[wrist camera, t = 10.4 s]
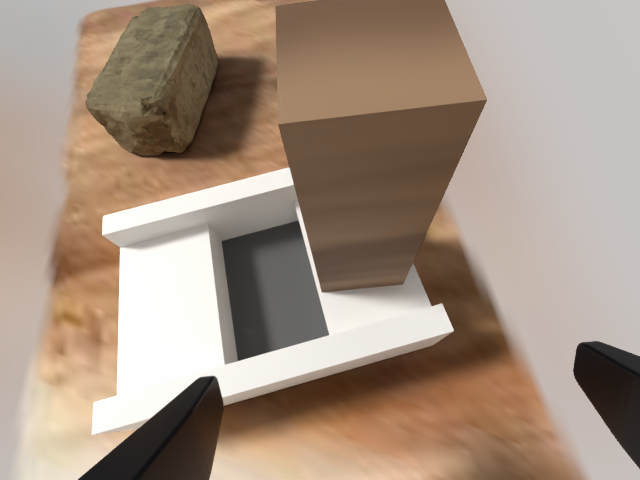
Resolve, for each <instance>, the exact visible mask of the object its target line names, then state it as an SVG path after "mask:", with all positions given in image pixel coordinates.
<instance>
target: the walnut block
mask: <svg viewBox="0 0 640 480" xmlns="http://www.w3.org/2000/svg"><path fill="white" fill-rule="evenodd" d="M276 45H277V90H278V125H279V129H280V133H281V137H282V141H283V144H284V148H285V152H286V156H287V160H288V164H289V168H290V172H291V175H292V179H293V183H294V187H295V191H296V195H297V199H298V202H299V206H300V210H301V214H302V218H303V222H304V226H305V230H306V233H307V237H308V241H309V245H310V249H311V253H312V257H313V261H314V264H315V268H316V272H317V276H318V280H319V284H320V288H321V291H322V292H331V291H342V290H352V289H363V288H373V287H384V286H394V285H403V284H404V282H405V279H406V277H407V275H408V273H409V270H410V268H411V266H412V264H413V262H414V259H415V257H416V255H417V253H418V251H419V248H420V246H421V244H422V242H423V240H424V237H425V235H426V233H427V231H428V229H429V226H430V224H431V222H432V220H433V218H434V215H435V213H436V211H437V209H438V207H439V204H440V202H441V200H442V198H443V196H444V193H445V191H446V189H447V187H448V185H449V182H450V180H451V178H452V176H453V173H454V171H455V169H456V167H457V165H458V163H459V160H460V158H461V156H462V153H463V152H464V149H465V147H466V145H467V143H468V140H469V138H470V136H471V134H472V132H473V130H474V127H475V125H476V123H477V121H478V119H479V116H480V114H481V112H482V110H483V108H484V105H485V103H486V101H487V98H486V96H485V94H484V92H483V89H482V87H481V84H480V82H479V80H478V77H477V75H476V73H475V70H474V68H473V66H472V63H471V61H470V59H469V57H468V54H467V52H466V49H465V47H464V44H463V42H462V40H461V38H460V35H459V33H458V30H457V28H456V26H455V23H454V21H453V19H452V16H451V14H450V12H449V9H448V7H447V5H446V2H445V0H317V1H309V2H302V3H294V4H287V5H279V6H276Z"/></svg>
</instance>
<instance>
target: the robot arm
mask: <svg viewBox="0 0 640 480" xmlns="http://www.w3.org/2000/svg"><path fill="white" fill-rule="evenodd" d="M573 372H574V376H575V379H576V381H577V382H578V384H579V385H580V387H581V388H582V390H583V391H584V393H585V394H586V396H587V397H588V399H589V400H590V402H591V403H592V404H593V406H594V407H595V409H596V410H597V412H598V413H599V415H600V416H601V417H602V419H603V420H604V422H605V423H606V425H607V426H608V428H609V429H610V431H611V432H612V434H613V435H614V436H615V438H616V439H617V441H618V442H619V443H620V445H621V446H622V447H623V449H624V450H625V451H626V452H627V454H628V455H629V456H630V457H631V459H632V460H633V461H634V462H635V464H636V465H637V466H638V467H639V469H640V356H637V355H634V354H632V353H629V352H626V351H624V350H621V349H618V348H615V347H613V346H610V345H607V344H605V343H602V342H598V341H593V342H583V343H580V344H579V345H578V346H577V349H576V356H575V362H574V369H573ZM223 407H224V404H223V398H222V394H221V390H220V386H219V382H218V379H217V378H216V377H215V376H203V377H199V378H198V379H196V380H195V381H194V382H193V383H192V384H190V385H189V386H188V387H187V388H186V389H185V390H183V391H182V392H181V393H180V394H179V395H177V396H176V397H175V398H174V399H173V400H171V401H170V402H169V403H168V404H167V405H166V406H164V407H163V408H162V409H161V410H160V411H158V412H157V413H156V414H155V415H154V416H153V417H151V418H150V419H149V420H148V421H147V422H145V423H144V424H143V425H142V426H141V427H140V428H138V429H137V430H136V431H135V432H134V433H132V434H131V435H130V436H129V437H128V438H127V439H125V440H124V441H123V442H122V443H121V444H119V445H118V446H117V447H116V448H115V449H113V450H112V451H111V452H110V453H109V454H108V455H106V456H105V457H104V458H103V459H102V460H100V461H99V462H98V463H97V464H96V465H95V466H93V467H92V468H91V469H90V470H89V471H87V472H86V473H85V474H84V475H83V476H81V477H80V478H79V479H78V480H209V478H210V474H211V470H212V465H213V460H214V455H215V450H216V445H217V440H218V435H219V430H220V425H221V419H222V414H223Z"/></svg>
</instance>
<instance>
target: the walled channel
mask: <svg viewBox="0 0 640 480" xmlns="http://www.w3.org/2000/svg"><path fill="white" fill-rule="evenodd" d="M102 235H103V236H104V237H106V238H107V239H109V240H110V241H111V242H113V243H114V244H116V245H117V246H119V247H120V277H119V321H118V366H117V396H113V397H110V398H106V399H103V400H99V401H96V402H93V418H92V435H97V434H104V433H112V432H120V431H128V430H135V429H138V428H140V427H141V426H142V425H143V424H144V423H145V422H147V421H148V420H149V419H150V418H151V417H153V416H154V415H155V414H156V413H157V412H158V411H160V410H161V409H162V408H163V407H164V406H166V405H167V404H168V403H169V402H170V401H171V400H173V399H174V398H175V397H176V396H177V395H179V394H180V393H181V392H182V391H183V390H185V389H186V388H187V387H188V386H189V385H190V384H192V383H193V382H194V381H195V380H196V379H198V378H199V377H203V376H215V377H216V378H217V379H218V382H219V386H220V390H221V394H222V398H223V404H224V406H225V405H229V404H232V403H236V402H239V401H243V400H246V399H250V398H253V397H256V396H260V395H263V394H267V393H270V392H274V391H277V390H281V389H284V388H288V387H291V386H295V385H298V384H301V383H305V382H308V381H312V380H315V379H319V378H322V377H326V376H329V375H333V374H336V373H340V372H343V371H347V370H350V369H353V368H357V367H360V366H364V365H367V364H371V363H374V362H378V361H381V360H385V359H388V358H392V357H395V356H398V355H402V354H405V353H409V352H412V351H416V350H419V349H423V348H426V347H430V346H433V345H434V344H436V343H437V342H439V341H440V340H442V339H443V338H444V337H446V336H447V335H449V334H450V333H452V332H453V331H454V329H453V327H452V325H451V322H450V320H449V318H448V316H447V313H446V311H445V309H444V307H443V304H442V303H441V304H438V305H434V306H431V304H430V301H429V299H428V297H427V294H426V292H425V290H424V287H423V285H422V282H421V280H420V278H419V275H418V273H417V271H416V268H415V266H414V264H412V266H411V268H410V270H409V273H408V275H407V277H406V279H405V282H404V284H403V285H394V286H384V287H373V288H363V289H352V290H342V291H331V292H322V291H321V288H320V284H319V280H318V276H317V272H316V268H315V264H314V261H313V257H312V253H311V249H310V245H309V241H308V237H307V233H306V230H305V226H304V222H303V218H302V214H301V210H300V206H299V202H298V199H297V195H296V191H295V187H294V183H293V179H292V175H291V172H290V168H285V169H281V170H277V171H274V172H270V173H266V174H262V175H258V176H254V177H251V178H247V179H243V180H239V181H235V182H231V183H228V184H224V185H220V186H216V187H212V188H208V189H204V190H201V191H197V192H193V193H189V194H185V195H181V196H178V197H174V198H170V199H166V200H162V201H158V202H155V203H151V204H147V205H143V206H139V207H135V208H132V209H128V210H124V211H120V212H116V213H112V214H109V215H105V216H103V226H102Z"/></svg>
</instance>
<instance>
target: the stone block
mask: <svg viewBox="0 0 640 480" xmlns="http://www.w3.org/2000/svg"><path fill="white" fill-rule="evenodd" d="M217 66H218V57H217V54H216V51H215V48H214V45H213V41H212V37H211V33H210V30H209V28H208V25H207V22H206V19H205V17H204V15H203V13H202V11H201V9H200V8H199V7H197V6H195V5H191V4H186V5H181V6H173V7H163V8H162V7H154V8H147V9H146V10H144V11H143V12H142V13H141V16H140V17H137V16H136V17H132V18H131V20H130V21H129V23H128V26H127V28H126V30H125V31H124V32H123V33H122V35H121V37H120V40H119V41H118V43H117V45H116V47H115V48H114V50H113V52H112V54H111V56H110V58H109V60H108V62H107V63H106V65H105V67H104V69H103V71H102V72H101V73H100V74H99V75H98V77H97V78H96V80H95V81H94V84H93V87H92V89H91V90H90V92H89V93H88V94H87V100H86V107H87V109H88V110H89V111H90V113H91V114H92V115H93V117H94V118H95V119H96V120H97V121H98V122H99V123H100V124H101V125H103V126H104V127H105V129H106V130H107V132H108V133H109V134H110V135H112V136H113V138H114V139H115V140H116V141H117V142H118V144H119V145H120V146H121V147H122V148H123V149H125V150H126V151H129V152H133V153H137V154H139V155H144V156H146V155H160V154H161V153H163V152H164V151H167V152H171V151H172V152H177V153H181V152H183V151H185V150H186V148H187V146H188V145H189V144H190V143H191V141H192V140H193V138H194V134H195V131H196V129H197V128H198V124H199V121H200V117H201V114H202V111H203V108H204V106H205V104H206V102H207V99H208V95H209V93H210V90H211V85H212V82H213V80H214V78H215V75H216V71H217Z"/></svg>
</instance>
